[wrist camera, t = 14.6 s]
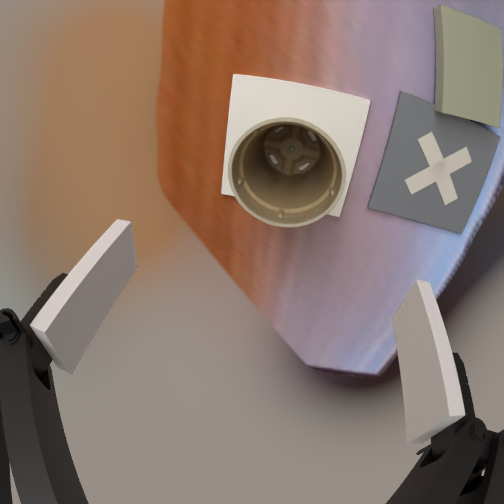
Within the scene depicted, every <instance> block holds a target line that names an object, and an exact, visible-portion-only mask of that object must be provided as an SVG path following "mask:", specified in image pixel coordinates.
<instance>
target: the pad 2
mask: <svg viewBox="0 0 504 504" xmlns="http://www.w3.org/2000/svg"><path fill="white" fill-rule="evenodd" d="M434 108H435V104H433V103H430V102H428V101H425V100H423V99H420V98H418V97H415V96H413V95H410V94H407V93H404V92H402V91H400V93H399V97H398V102H397V106H396V110H395V114H394V118H393V122H392V126H391V129H390V133H389V137H388V140H387V144H386V148H385V151H384V155H383V158H382V161H381V165H380V168H379V171H378V175H377V178H376V181H375V184H374V187H373V190H372V193H371V196H370V199H369V202H368V205H367V206H368V208H370V209H374V210H378V211H382V212H386V213H389V214H393V215H397V216H401V217H404V218H408V219H412V220H415V221H419V222H422V223H426V224H429V225H432V226H436V227H439V228H443V229H446V230H449V231H452V232H456V233H459V234H462V232H463V230H464V228H465V226H466V224H467V221H468V219H469V217H470V215H471V213H472V211H473V208H474V206H475V204H476V201H477V199H478V197H479V194H480V192H481V189H482V187H483V184H484V182H485V179H486V177H487V174H488V171H489V169H490V166H491V163H492V160H493V157H494V154H495V151H496V148H497V145H498V142H499V139H500V136H498V135H496V134H495V133H493V132H491V131H489V130H487V129H486V128H484V127H482V126H480V125H478V124H476V123H474V122H472V121H470V120H468V119H466V118H463V117H459V116H455V115H450V114H446V113H442V112H439V111H436V110H434Z"/></svg>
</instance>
